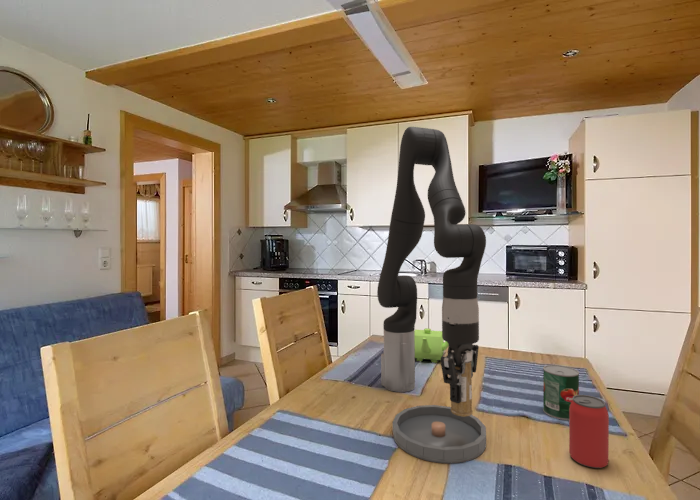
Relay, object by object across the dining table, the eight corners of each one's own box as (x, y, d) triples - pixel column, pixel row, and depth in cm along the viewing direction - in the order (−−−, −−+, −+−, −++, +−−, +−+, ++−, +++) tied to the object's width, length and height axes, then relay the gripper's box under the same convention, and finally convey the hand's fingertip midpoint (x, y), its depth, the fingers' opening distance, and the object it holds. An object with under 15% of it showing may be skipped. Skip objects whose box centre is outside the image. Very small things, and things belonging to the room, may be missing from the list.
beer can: (562, 451, 79) (562, 394, 78) (592, 449, 79) (592, 392, 79) (584, 471, 72) (584, 408, 72) (616, 468, 73) (617, 406, 72)
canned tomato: (545, 403, 101) (545, 362, 101) (580, 411, 97) (580, 368, 97) (540, 415, 95) (540, 371, 95) (577, 423, 90) (577, 377, 90)
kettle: (457, 361, 137) (457, 330, 137) (426, 368, 130) (425, 336, 130) (429, 351, 150) (429, 322, 150) (400, 356, 144) (400, 327, 143)
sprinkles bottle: (477, 413, 81) (476, 350, 81) (462, 419, 78) (462, 354, 78) (459, 406, 85) (459, 345, 84) (445, 411, 82) (445, 349, 82)
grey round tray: (375, 440, 84) (375, 427, 84) (422, 409, 99) (422, 398, 99) (461, 476, 71) (461, 461, 71) (499, 434, 86) (499, 421, 86)
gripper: (458, 311, 89) (458, 384, 89) (427, 321, 78) (428, 404, 78) (490, 315, 84) (490, 392, 84) (462, 326, 73) (463, 415, 74)
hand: (460, 397), depth 81 cm, fingers closed on sprinkles bottle, 4 cm apart
